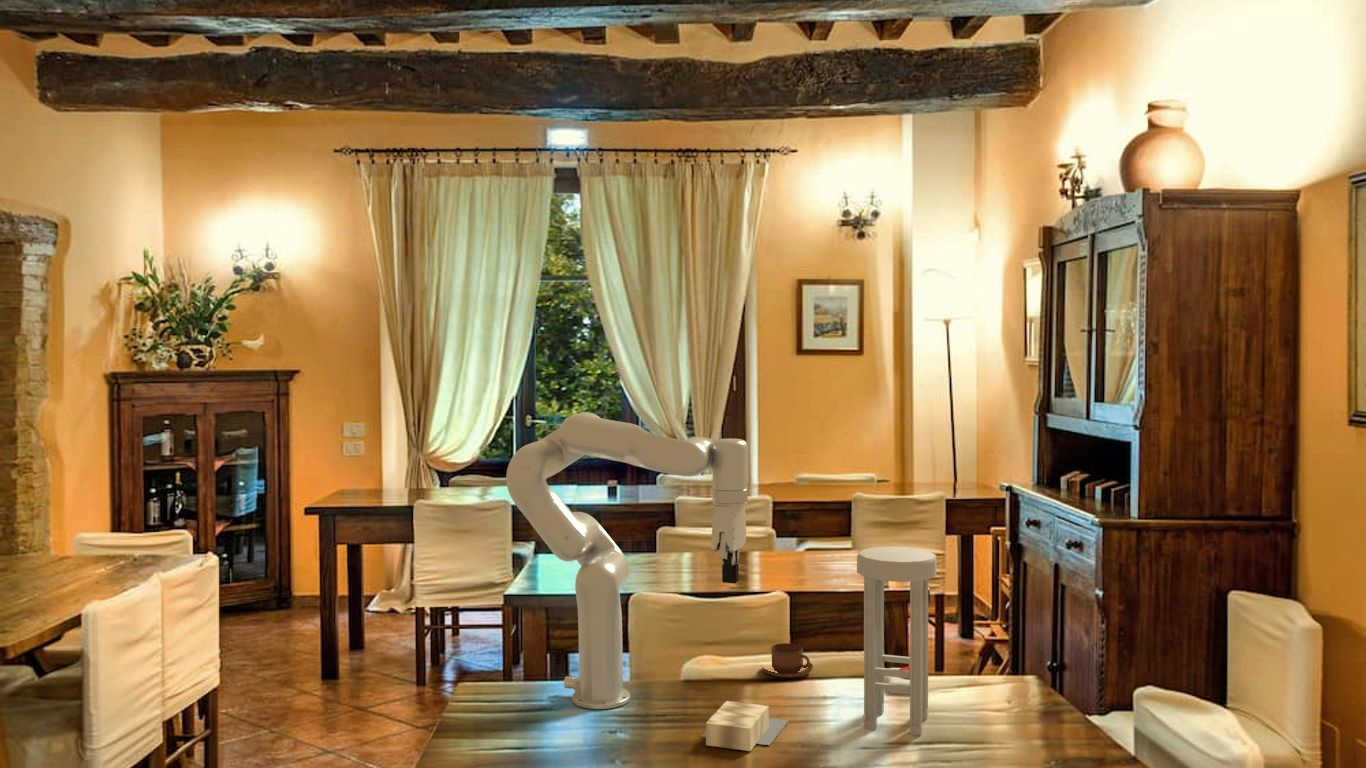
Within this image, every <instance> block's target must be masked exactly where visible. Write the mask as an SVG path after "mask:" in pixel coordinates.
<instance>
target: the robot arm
mask: <svg viewBox="0 0 1366 768" xmlns="http://www.w3.org/2000/svg"><path fill="white" fill-rule="evenodd" d="M748 449H749V447H748V443H747V441H745V440H744V439H741V438H720V439H718V438H717V439H716V438H710V437H703V436H692V437H689V438H687V439H679V438H673V437H666V436H662V435H658V434H654V433H652V432H648V431H647V430H645V429H644V428H642V427H641V426H639V425H637V424H634V423H632V422H631V423H630V422H625V421H617V420H612V419H606V418H603V417H600V416H598V415H597V414H595V413H593V412H589V411H582V412H579V413H576V414H572V415H570V416H568V417H567V418H565V419H564V420H563V421H562V423H561V424H560V426H559V427H558V428H557V429H555V430H554V431H552V432H551V433H549V434H548V435H546V436H545V437H542V438H541V439H539V440H536V441H533V442H531V443H528V444H526V445H524V446H522V447H521V448H519V449H518V450H517V451H516V452H515V453H514V455H512V457H511V459H510V462H509V463H508V466H507V469H506V475H505V477H506V479H505V480H506V488H507V491H508V494H509V496H510V499H511V500H512V501H513V503H514V504H515V506H516V508H517V509H518V510H519V511H520V512H521V513H522V515H523V516H524V517H525V518H526V520H527V521H528V522H529V523H530V525H531V526H532V528H533V529H534V530H535V532H536V533H537V534H538V535H539V536H540V537H539V538H541V539H542V541H543V542H544V544H546V545H547V547H548V548H549V550H550V551H551V552H552V554H554V556H555V557H556V558H558V559H559V560H562V561H563V562H574V561H576V562H578V564H579V565H580V568H579V569H578V570H577V573H576V577H575V583H574V585H575V586H574V587H575V588H574V589H575V597H576V604H577V605H576V606H577V619H578V621H577V622H578V623H577V624H578V626H577V627H578V675H579V676H578V677H574V676H565V677H564V679H563V683H564V685H563V687H564V689H568V690H570V689H573V690H574V692H573V694H572V698H571V699H572V702H573V703H574V704H575V705H576V706H577V707H581V708H584V709H590V710H607V709H608V710H609V709H614V708H619V707H621V706H624V705H625V704H627V703H629V701H630V700H631V692H630V691H629V690H627V689H626V688H624V678H623V677H624V671H623V662H624V661H623V659H624V657H623V615H622V614H623V613H622V612H623V611H622V605H621V596H620V595H621V594H620V593H621V592H620V591H621V589H622V588H623V586H624V585H625V584H626V583H627V581H628V578H629V575H630V564H629V562H628V559H627V557H626V556H625V554H624V553H623V551H622V550H621V548H619V546H618V545H617V544H616V543H615V541H614V540H613V538H611V536H610V535H609V534H608V533H607V531H606V530H605V528H603V526H602V525H601V524H600V523H599V522H598V521H597V520H596V519H595V518H594V517H593V516H591V515H590V514H588V513H586V512H582V511H574V512H573V511H572V510H570V508H569V507H568V506H567V504H565V502H564V501H563V500H562V498H561V497H560V496H559V494H557V493H556V491H554V490H553V489H552V488H551V487H550V486H549V485H548V483H547V479H548V478H551V477H552V476H555V475H556V474H558V473H559V472H562V470H564V469H566V468H567V467H568V466H570V465H572V464H574V463H575V462H576V461H578V460H579V459H581V458H583V457H584V456H589V457H593V458H599V459H605V460H610V461H616V462H621V463H625V464H629V465H632V466H635V467H640V468H643V469H646V470H651V471H654V472H659V473H665V474H668V475H674V476H680V477H686V478H687V477H688V478H690V477H695V476H699V475H701V473H703V472H704V471H709V470H712V505H714V506H713V512H712V523H711V524H712V525H711V551H712V552H717V551H719V559H720V560H721V568H722V569H721V574H722V575H721V582H722V583H726V584H737V583H739V578H740V577H739V575H740V573H739V571H740V569H739V567H740V566H739V564H740V563H739V562H740V551H741V549H742V547H743V546H745V545H746V542H747V541H746V540H747V518H746V517H747V515H746V505H749V494H748V493H749V489H748V488H749V474H748V473H749V465H748V464H749V462H748V461H749V460H748V459H749V458H748V457H749V455H748V453H749V451H748Z"/></svg>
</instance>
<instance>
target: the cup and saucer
mask: <svg viewBox="0 0 1366 768" xmlns="http://www.w3.org/2000/svg"><path fill="white" fill-rule="evenodd" d="M803 651H804V648H803V646H801V645H800V644H796V643H789V642H788V643H787V642H783V643H782V642H781V643H777V644H774V645H772V646H771V659H772V667H773V668H774V670H775V671H777V672H778V673H775V672H771V671H768V670H766V669H764V668H763V667H762V666H761V669H762V668H763V669H762V670H763V671H764V673H766V674H768V675H771V676H773V677H777V678H786V679H787V678H788V679H791V678H800V677H804V676H806V675H808V674H810V672H812V670H813V668H814V665H813V664H812V662H811V661H810V659H809V658H810V657H808V656H807V655H806V654H803ZM803 660H805V661H807V664H806V665H803ZM802 667H803V668H807V667H808V668H807V669H805V670H803V671H801V672H798V671H800V669H801V668H802Z"/></svg>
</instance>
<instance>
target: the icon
mask: <svg viewBox="0 0 1366 768" xmlns="http://www.w3.org/2000/svg"><path fill="white" fill-rule="evenodd" d="M889 669H899V670H910V666H904V667H889ZM884 683H889V684H899V685H908V686H910V678H900V677H890V676H884ZM888 692H889V693H890V694H892V695H906V696H908V695H909V696H910V693H906V692H896V691H888Z"/></svg>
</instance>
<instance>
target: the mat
mask: <svg viewBox="0 0 1366 768" xmlns="http://www.w3.org/2000/svg"><path fill="white" fill-rule="evenodd" d="M788 723H789V720H788V719H780V718H772V717H769V728H768V729H767V731H766V732H765V733H764V734H763V736H762V737H761V738H760V740H759V741H758V742H757V743H756V744H761V745H770V744H771V743H772V742H774V741H775V740H776V739H777V737H778V736H779V735H780V733H781V732H782V731H783V729H784V728H785V727H786V726H787V724H788ZM785 725H786V726H785ZM781 730H782V731H781ZM778 734H779V735H778ZM777 735H778V736H777ZM776 736H777V737H776ZM701 738H702V739H706V731H704V733H703V734H702V735H701ZM775 738H776V739H775ZM774 739H775V740H774ZM772 744H773V743H772ZM772 744H771V745H772ZM761 745H760V746H761ZM771 745H770V746H771Z"/></svg>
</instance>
